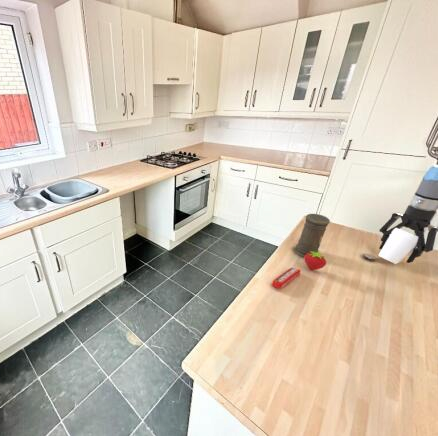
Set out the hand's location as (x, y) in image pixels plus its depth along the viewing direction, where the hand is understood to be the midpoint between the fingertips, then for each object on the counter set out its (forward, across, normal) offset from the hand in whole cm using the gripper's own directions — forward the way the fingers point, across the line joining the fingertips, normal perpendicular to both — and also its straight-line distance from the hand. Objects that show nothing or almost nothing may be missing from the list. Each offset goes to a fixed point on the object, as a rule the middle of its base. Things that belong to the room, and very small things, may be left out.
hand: (395, 254), depth 102 cm
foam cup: (+2, 0, -4) cm, 5 cm away
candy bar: (+3, -5, -52) cm, 52 cm away
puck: (+3, -4, -8) cm, 9 cm away
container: (+3, -16, -30) cm, 34 cm away
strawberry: (+3, -6, -38) cm, 38 cm away
